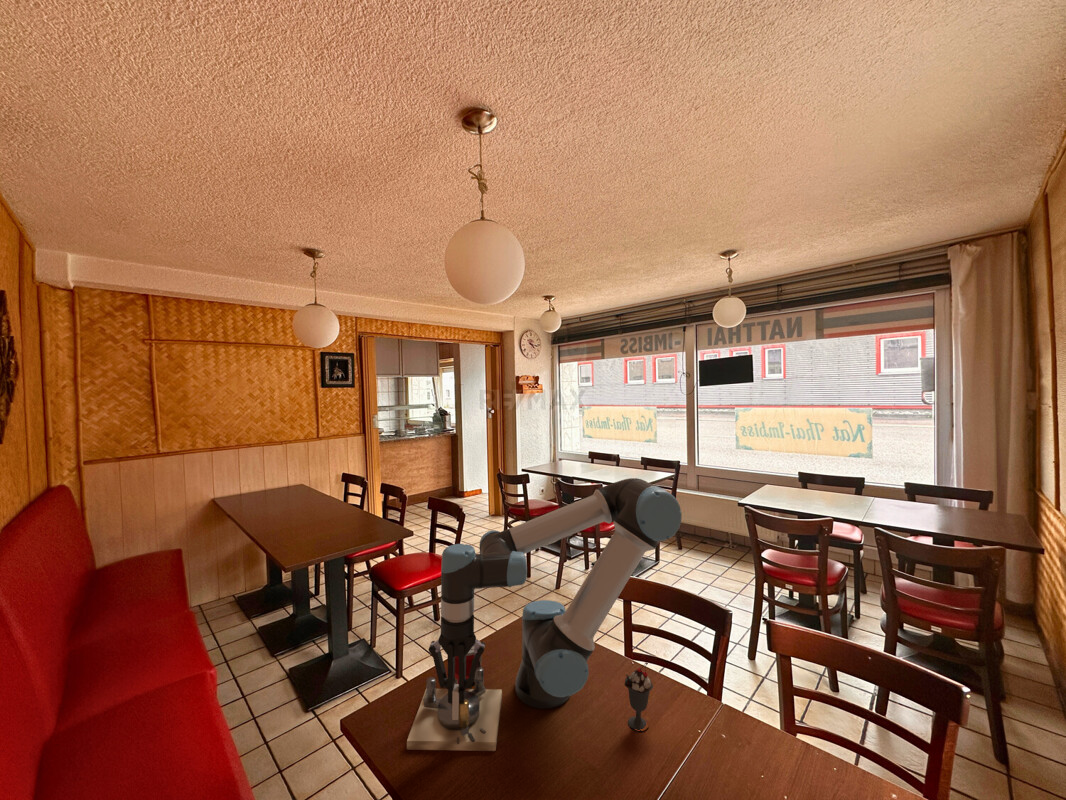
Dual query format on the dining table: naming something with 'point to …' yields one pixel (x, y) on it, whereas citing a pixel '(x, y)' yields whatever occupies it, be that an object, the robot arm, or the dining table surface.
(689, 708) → the dining table surface
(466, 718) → the cam capstan
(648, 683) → the sundae
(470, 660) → the canned food
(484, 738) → the stand
